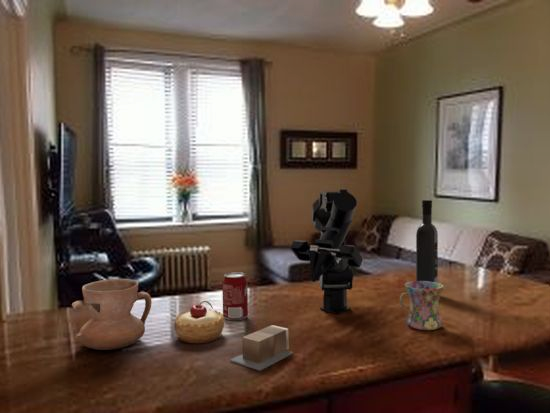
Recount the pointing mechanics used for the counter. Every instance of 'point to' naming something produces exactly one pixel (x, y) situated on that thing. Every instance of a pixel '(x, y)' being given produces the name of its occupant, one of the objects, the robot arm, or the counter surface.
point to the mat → (263, 364)
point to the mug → (423, 304)
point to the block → (265, 343)
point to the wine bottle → (427, 246)
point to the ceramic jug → (112, 314)
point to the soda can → (235, 296)
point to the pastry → (199, 324)
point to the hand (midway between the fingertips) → (312, 280)
